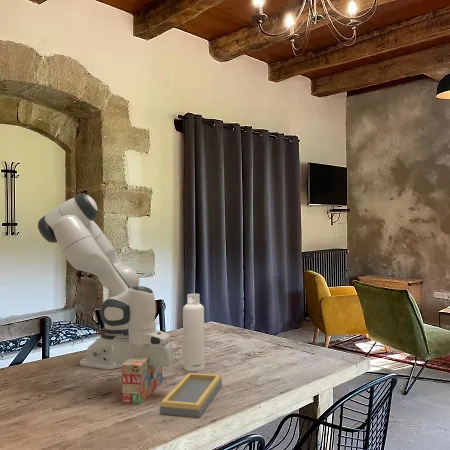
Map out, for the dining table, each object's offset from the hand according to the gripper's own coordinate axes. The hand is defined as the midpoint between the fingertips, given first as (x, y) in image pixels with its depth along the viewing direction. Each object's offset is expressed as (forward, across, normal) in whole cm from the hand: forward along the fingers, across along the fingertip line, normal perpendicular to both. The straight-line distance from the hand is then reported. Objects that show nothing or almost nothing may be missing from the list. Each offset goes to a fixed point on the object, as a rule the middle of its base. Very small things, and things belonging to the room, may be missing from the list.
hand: (142, 377), depth 154 cm
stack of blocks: (+5, 0, +1) cm, 5 cm away
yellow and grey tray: (+5, +18, -2) cm, 19 cm away
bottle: (+5, +9, +28) cm, 30 cm away
